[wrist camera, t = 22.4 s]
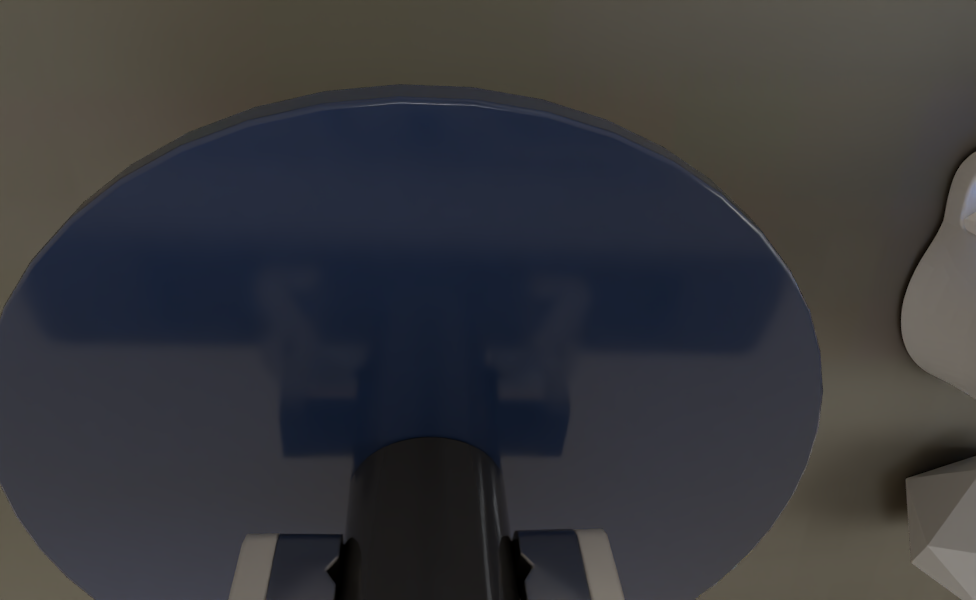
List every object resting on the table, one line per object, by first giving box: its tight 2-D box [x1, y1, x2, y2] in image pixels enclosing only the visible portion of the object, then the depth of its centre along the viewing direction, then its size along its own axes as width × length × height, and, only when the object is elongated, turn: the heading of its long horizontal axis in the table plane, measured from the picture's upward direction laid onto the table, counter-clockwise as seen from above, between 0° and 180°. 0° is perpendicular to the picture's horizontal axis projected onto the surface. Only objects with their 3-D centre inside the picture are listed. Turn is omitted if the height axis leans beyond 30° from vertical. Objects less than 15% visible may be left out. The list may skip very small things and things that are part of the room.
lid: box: [0, 84, 823, 600], centre depth 11 cm, size 14×14×6 cm
